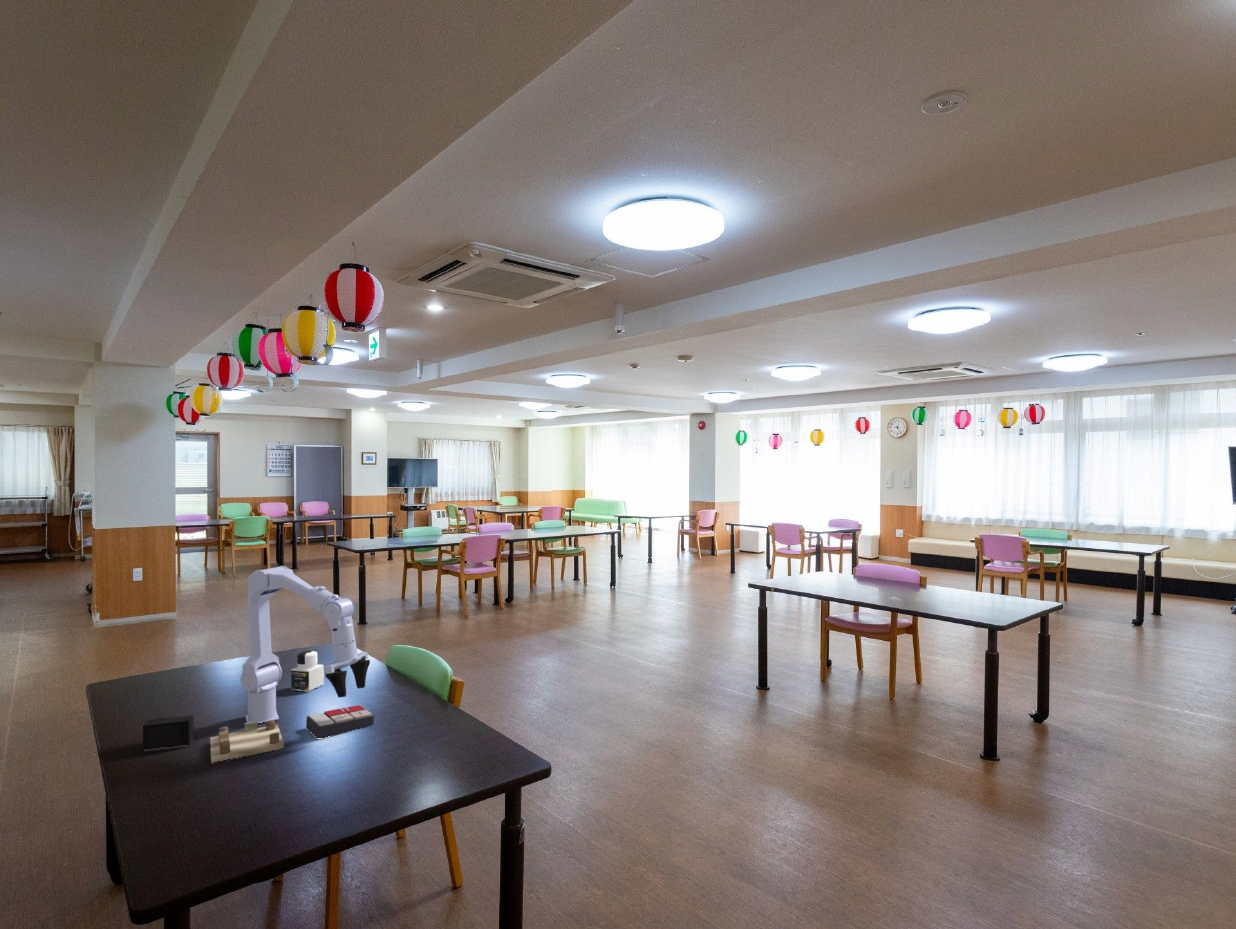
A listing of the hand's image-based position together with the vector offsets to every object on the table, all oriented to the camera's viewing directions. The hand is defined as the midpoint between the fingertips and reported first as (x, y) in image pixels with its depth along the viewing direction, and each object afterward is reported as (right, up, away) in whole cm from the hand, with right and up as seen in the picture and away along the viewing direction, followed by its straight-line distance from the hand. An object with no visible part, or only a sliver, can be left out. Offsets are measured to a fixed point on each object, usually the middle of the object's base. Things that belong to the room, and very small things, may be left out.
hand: (351, 692), depth 184 cm
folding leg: (-29, -9, -11) cm, 32 cm away
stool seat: (-24, -11, -9) cm, 28 cm away
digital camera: (-45, -12, -8) cm, 47 cm away
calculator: (-4, -11, +3) cm, 13 cm away
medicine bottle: (-29, -12, +37) cm, 49 cm away
